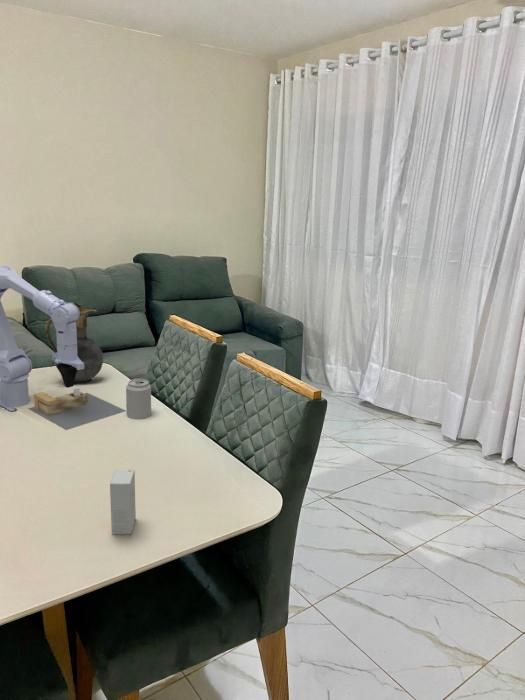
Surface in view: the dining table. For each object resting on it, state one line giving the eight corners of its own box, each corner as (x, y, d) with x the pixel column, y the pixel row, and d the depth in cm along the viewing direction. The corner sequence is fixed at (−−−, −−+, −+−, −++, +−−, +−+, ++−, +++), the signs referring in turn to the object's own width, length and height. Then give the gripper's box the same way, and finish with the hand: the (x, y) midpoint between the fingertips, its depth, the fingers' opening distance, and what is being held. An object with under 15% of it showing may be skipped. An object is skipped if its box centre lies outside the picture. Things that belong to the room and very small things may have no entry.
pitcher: (104, 387, 194) (101, 304, 185) (47, 389, 188) (42, 305, 180) (103, 377, 204) (101, 298, 195) (49, 379, 198) (44, 299, 190)
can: (154, 414, 173) (153, 378, 169) (147, 423, 166) (146, 386, 162) (131, 412, 173) (130, 376, 170) (123, 421, 166) (122, 384, 163)
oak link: (79, 399, 178) (78, 391, 177) (87, 403, 175) (87, 395, 174) (39, 411, 168) (38, 402, 167) (48, 415, 165) (47, 406, 164)
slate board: (28, 411, 169) (26, 393, 168) (87, 395, 185) (86, 378, 183) (66, 433, 156) (65, 413, 154) (126, 413, 172) (126, 396, 170)
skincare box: (115, 518, 117) (114, 468, 114) (136, 518, 117) (135, 468, 114) (110, 535, 111) (109, 483, 108) (131, 535, 112) (131, 483, 108)
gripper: (41, 341, 164) (44, 383, 167) (68, 351, 155) (70, 395, 159) (63, 337, 169) (65, 378, 173) (89, 347, 160) (91, 390, 164)
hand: (69, 386), depth 166 cm, fingers closed
